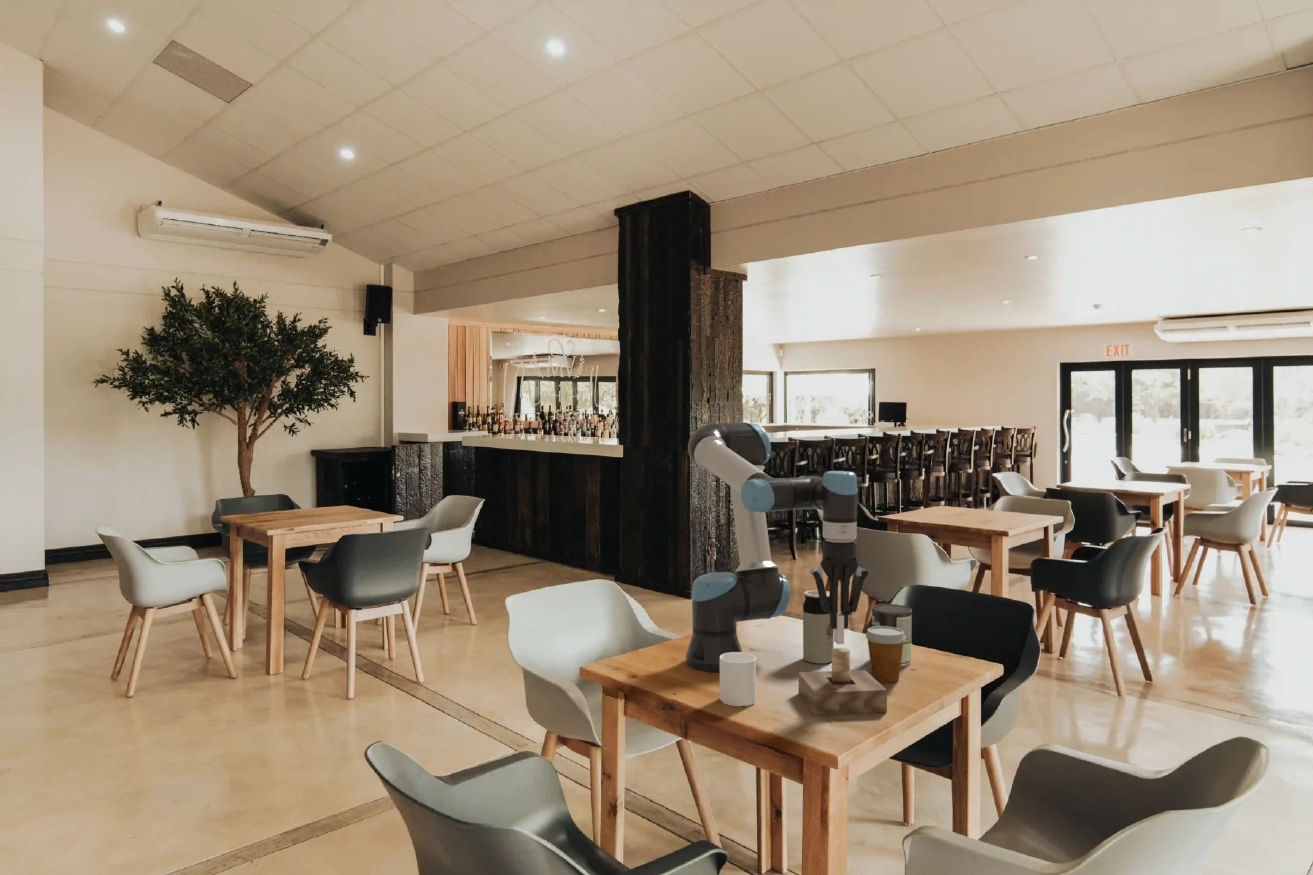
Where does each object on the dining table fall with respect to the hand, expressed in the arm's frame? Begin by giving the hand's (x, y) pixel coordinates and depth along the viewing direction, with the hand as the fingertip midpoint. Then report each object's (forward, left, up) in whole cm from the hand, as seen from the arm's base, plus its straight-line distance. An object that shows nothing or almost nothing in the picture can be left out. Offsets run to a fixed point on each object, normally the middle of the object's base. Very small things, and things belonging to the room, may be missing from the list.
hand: (838, 642), depth 181 cm
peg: (0, -1, -14) cm, 14 cm away
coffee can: (+23, +28, -14) cm, 39 cm away
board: (0, -1, -14) cm, 13 cm away
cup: (-22, +4, -14) cm, 26 cm away
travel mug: (+4, +31, -14) cm, 34 cm away
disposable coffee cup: (+16, +14, -14) cm, 25 cm away
